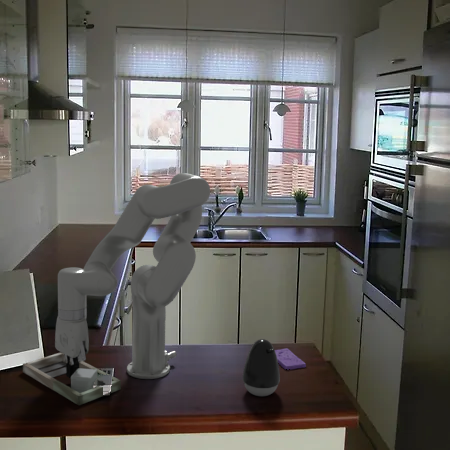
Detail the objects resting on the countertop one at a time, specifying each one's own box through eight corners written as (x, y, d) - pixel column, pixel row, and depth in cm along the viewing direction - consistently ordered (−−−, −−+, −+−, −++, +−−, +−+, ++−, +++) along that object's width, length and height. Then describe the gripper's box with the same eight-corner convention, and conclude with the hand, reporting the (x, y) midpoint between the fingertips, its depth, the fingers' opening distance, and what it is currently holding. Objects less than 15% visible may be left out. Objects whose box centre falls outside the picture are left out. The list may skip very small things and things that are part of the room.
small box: (78, 384, 160) (77, 367, 159) (98, 385, 159) (98, 369, 159) (70, 393, 154) (70, 376, 154) (91, 395, 154) (90, 377, 153)
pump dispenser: (254, 404, 152) (256, 349, 149) (235, 387, 161) (237, 336, 159) (286, 396, 157) (289, 343, 154) (266, 381, 166) (269, 331, 163)
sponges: (287, 353, 188) (287, 348, 188) (306, 369, 177) (306, 363, 176) (267, 355, 186) (268, 350, 185) (285, 371, 174) (285, 365, 174)
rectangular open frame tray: (63, 359, 176) (63, 351, 176) (120, 389, 158) (120, 380, 157) (23, 372, 166) (22, 363, 166) (78, 405, 148) (78, 396, 148)
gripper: (45, 309, 160) (46, 371, 163) (76, 323, 150) (76, 389, 153) (69, 304, 165) (69, 364, 169) (100, 316, 156) (100, 380, 159)
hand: (72, 376), depth 161 cm, fingers closed
